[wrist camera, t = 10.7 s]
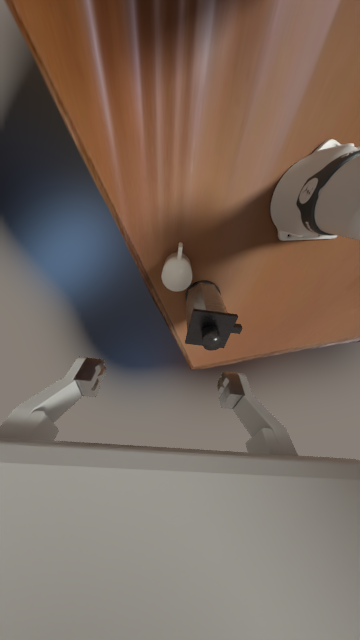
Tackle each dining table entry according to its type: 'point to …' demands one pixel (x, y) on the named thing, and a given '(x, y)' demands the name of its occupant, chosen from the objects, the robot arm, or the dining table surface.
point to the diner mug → (177, 271)
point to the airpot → (208, 313)
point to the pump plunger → (211, 338)
